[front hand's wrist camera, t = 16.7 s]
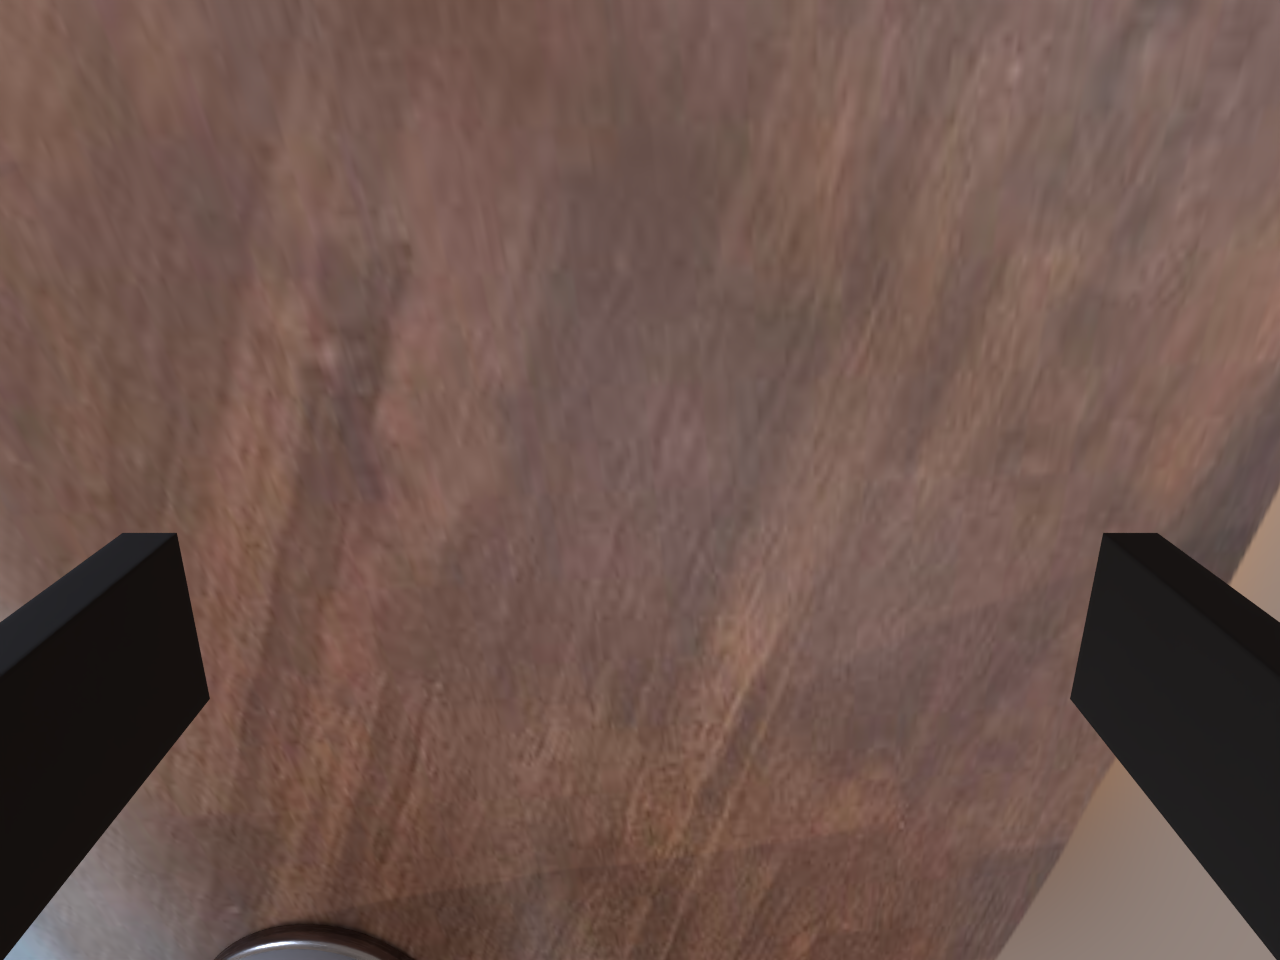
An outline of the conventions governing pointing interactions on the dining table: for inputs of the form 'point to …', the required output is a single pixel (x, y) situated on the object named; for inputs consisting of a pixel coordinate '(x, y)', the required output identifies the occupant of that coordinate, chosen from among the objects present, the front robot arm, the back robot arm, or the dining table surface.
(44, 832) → the front robot arm
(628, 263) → the dining table surface
